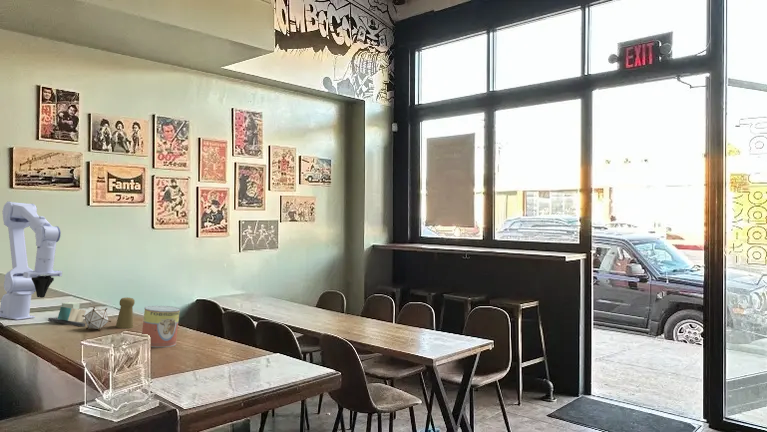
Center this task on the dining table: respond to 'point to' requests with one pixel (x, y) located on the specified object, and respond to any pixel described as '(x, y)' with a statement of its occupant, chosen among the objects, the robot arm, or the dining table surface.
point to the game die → (96, 318)
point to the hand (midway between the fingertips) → (40, 297)
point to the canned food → (161, 325)
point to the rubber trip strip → (66, 322)
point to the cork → (125, 313)
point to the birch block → (71, 314)
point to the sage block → (71, 305)
